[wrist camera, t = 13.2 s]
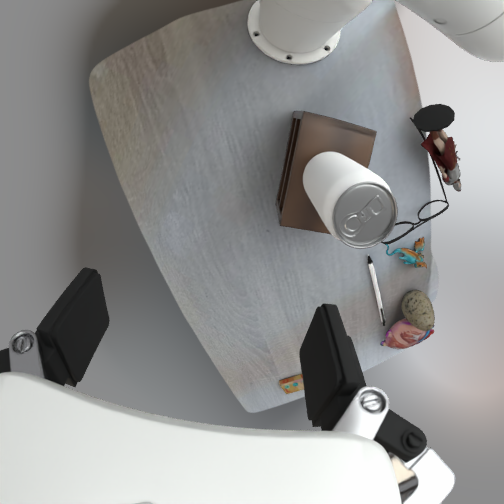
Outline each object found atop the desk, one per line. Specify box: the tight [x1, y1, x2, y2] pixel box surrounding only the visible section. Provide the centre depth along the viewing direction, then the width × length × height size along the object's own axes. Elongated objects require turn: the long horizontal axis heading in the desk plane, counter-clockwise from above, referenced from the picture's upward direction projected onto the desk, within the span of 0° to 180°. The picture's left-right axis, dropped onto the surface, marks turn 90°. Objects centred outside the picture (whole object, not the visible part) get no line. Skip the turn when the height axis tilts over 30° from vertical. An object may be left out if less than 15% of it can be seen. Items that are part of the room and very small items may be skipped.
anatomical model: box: [381, 318, 434, 349], centre depth 51 cm, size 11×6×15 cm
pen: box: [368, 255, 385, 326], centre depth 48 cm, size 1×19×1 cm, turn 26°
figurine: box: [413, 104, 461, 191], centre depth 31 cm, size 7×7×15 cm
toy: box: [279, 374, 304, 394], centre depth 61 cm, size 12×2×5 cm
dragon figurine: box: [385, 237, 427, 268], centre depth 43 cm, size 7×7×8 cm
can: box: [303, 152, 398, 249], centre depth 25 cm, size 6×6×12 cm
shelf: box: [276, 111, 377, 234], centre depth 34 cm, size 9×14×8 cm, turn 171°
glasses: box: [381, 117, 449, 244], centre depth 36 cm, size 14×15×5 cm
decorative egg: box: [402, 290, 435, 331], centre depth 44 cm, size 6×6×10 cm
